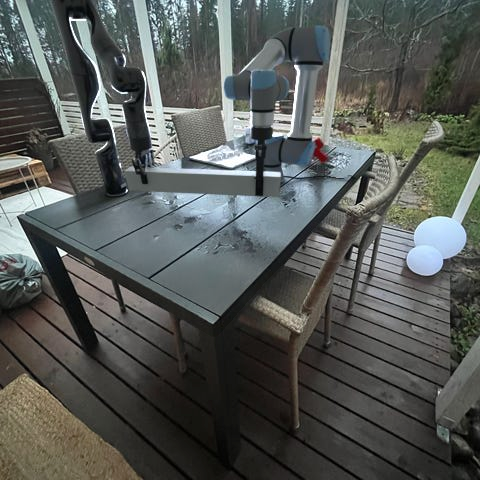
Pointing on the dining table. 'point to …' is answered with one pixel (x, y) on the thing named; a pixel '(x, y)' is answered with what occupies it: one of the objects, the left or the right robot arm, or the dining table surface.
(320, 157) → the toy gun
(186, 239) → the dining table surface
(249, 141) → the ink box
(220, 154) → the relief map
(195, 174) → the beam
